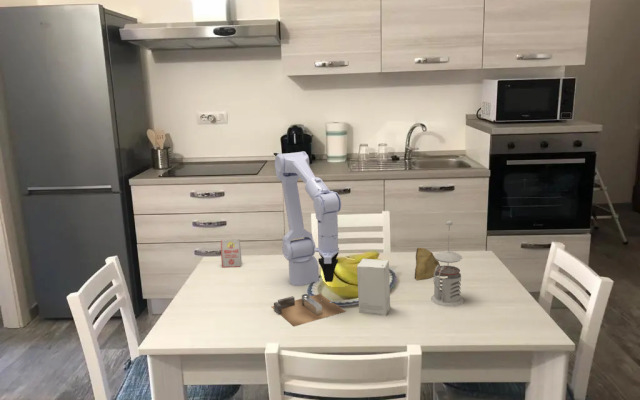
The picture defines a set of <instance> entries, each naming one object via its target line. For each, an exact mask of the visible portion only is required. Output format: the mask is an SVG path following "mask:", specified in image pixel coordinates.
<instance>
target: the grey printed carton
mask: <svg viewBox="0 0 640 400" xmlns="http://www.w3.org/2000/svg"><path fill="white" fill-rule="evenodd" d="M240 242H241V241H240V239H221V240H220V256H221V257H220V260H221V268H223V269H224V268H226V269H228V268H241V267H242V264H243V262H242V261H243V260H242V249H241V243H240Z"/></svg>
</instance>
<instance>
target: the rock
mask: <svg viewBox="0 0 640 400" xmlns="http://www.w3.org/2000/svg"><path fill="white" fill-rule="evenodd" d="M415 251H416V252H415V269H414V280H416V281H420V280H427V279H429V278H434V277H435V276H434V272H435V269H436V267H437V265H438V267H439V266H441V264H440V261H437V260H436V259H435V255H434V253H433V252H431V251H430V250H428V249H427V248H424V247H417V248H416V250H415Z"/></svg>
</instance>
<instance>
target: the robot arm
mask: <svg viewBox="0 0 640 400" xmlns="http://www.w3.org/2000/svg"><path fill="white" fill-rule="evenodd" d="M274 168H275V175H276V179H277V180H279V181H280V182H281V185H282V191H283V197H284V199H283V200H284V204H285V205H284V206H285V211H286V218H287V223H288V231H287V233H286V234H284V236H283V237H282V246H281V247H282V249H281V250H282V254H283V257H284V258H285V259H286V260H287V261H288V276H289V279H288V281H289V284H291V285H292V286H298V287H299V286H300V287H302V286H308V285H309V284H312V283H317V282H319V281H320V274H319V269H320V268H321V270H322V273H323V274H322V275H323V278H324V282H325V283H327V282H328V283H332V282H333V281H334V277H335V270H336V267H337V265H338V262H339V258H338V256H339V252H340V247H339V230H338V229H339V225H338V224H339V223H338V221H339V220H338V212H339V213H340V211H341V209H342V201H341V197H340V194H338V192H336V191H334V190H330V189H329V188H328V186H327V185H326V183H325V182H324V181H323V179H322V178H321V177H318V176H315V174H314V172H313V170H312V168H311V167H310V158H309V154H307V152H306V151H298V152H297V151H296V152H290V153H288V152H287V153H277V154H276V156H275V158H274ZM299 179H300V180H301V181H302V182H303V183H304V184H305V186H304V189H305V192H306V193H307V195H309V197H310V199H311V200H312V202H313V210H314V213H315V219H316V220H317V235H318V237H317V239H318V247H316V242H315V241H314V239H313V234H312V233H311V232H310V231H308V230H306V229H305V225H304V219H303V212H302V207H301V200H300V193H299V186H298V181H299ZM316 253H319V256H320V258H318V259H317V257H316V256H314V255H315V254H316ZM337 258H338V259H337ZM319 265H320V267H319Z"/></svg>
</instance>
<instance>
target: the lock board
mask: <svg viewBox="0 0 640 400" xmlns="http://www.w3.org/2000/svg"><path fill="white" fill-rule="evenodd" d="M310 297H311V298H312V299H313V300H315V301H316V302H318V303H319V304H320V305H322V314H318V315H315V314H314V313H313V312H311V311H310V310H309V309H308V308H306V307H305V306H303V305H302V298H297V299H295V296H287V297H285V298H280V299H277V301H275V302H273V305H272V306H271V309H273V311H274V312H275V313H276V314H277V315H280V316H281V317H282V319H284V320H285V321H286V322H288V323H289V324H290V325H291V326H292V327H298V326H301V325H304V324H307V323H311V322H315V321H318V320H322V319H325V318H329V317H331V316H332V317H333V316H335V315H339V314H342V313H346V312H347V311H346V310H345V309H343V308H341V306H339V305H337V304H336V303H334V302H333V301H331V300H330V299H329V298H327V297H326V296H324V295H323V294H321V293H318V294H314V295H310ZM321 300H322V301H321ZM330 302H333V303H330Z"/></svg>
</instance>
